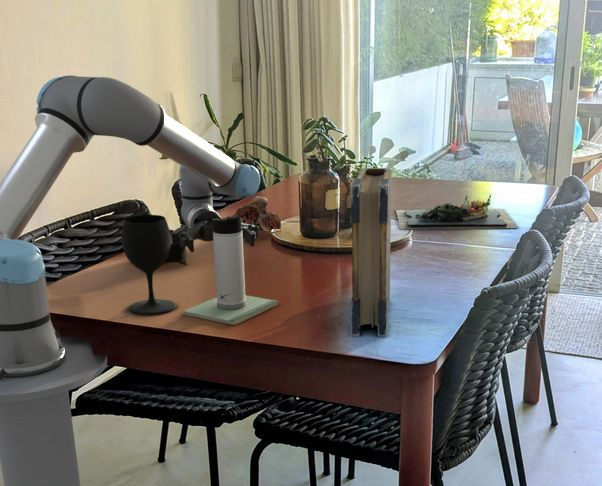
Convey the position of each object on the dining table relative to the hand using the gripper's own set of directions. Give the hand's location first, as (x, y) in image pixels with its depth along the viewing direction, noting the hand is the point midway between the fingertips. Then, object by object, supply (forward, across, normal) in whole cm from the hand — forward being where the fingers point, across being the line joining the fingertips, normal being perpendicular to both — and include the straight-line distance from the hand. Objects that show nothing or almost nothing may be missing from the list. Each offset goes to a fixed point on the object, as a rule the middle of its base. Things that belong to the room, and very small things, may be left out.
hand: (222, 243), depth 190 cm
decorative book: (+21, -27, -14) cm, 37 cm away
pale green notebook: (+6, 0, -14) cm, 15 cm away
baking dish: (-40, +10, -14) cm, 43 cm away
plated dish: (-59, -84, -14) cm, 104 cm away
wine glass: (-1, +16, -14) cm, 21 cm away
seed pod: (-61, -22, -14) cm, 66 cm away
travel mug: (+6, 0, -13) cm, 14 cm away
